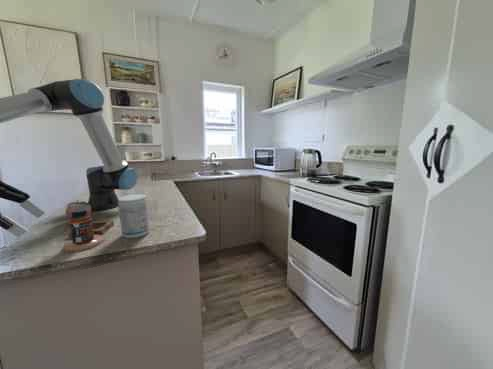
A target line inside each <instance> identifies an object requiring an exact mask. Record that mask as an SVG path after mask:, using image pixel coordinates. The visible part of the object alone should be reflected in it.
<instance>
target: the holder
mask: <svg viewBox="0 0 493 369" xmlns="http://www.w3.org/2000/svg"><path fill="white" fill-rule="evenodd" d="M114 223H115V222H114V220H104V221H92V227H93V232H94V233H93V234H94V235H102V236H103V235H104V234H105V233H107V232H108V231H109V230H110V229H112V227H113V226H115V224H114ZM94 228H98V229H94ZM67 234H68V239H72V235H71V231H69V232H67Z"/></svg>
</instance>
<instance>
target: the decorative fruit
mask: <svg viewBox="0 0 493 369" xmlns="http://www.w3.org/2000/svg"><path fill="white" fill-rule="evenodd" d="M77 209H86V210H87V214H88V215H90V216H91V212H92V210H91V206H90V205H89V204H88V202H87V201H79V200H78V199H76V201H73V202H70V203H68V204H66V209H65V215H66V216H67V217H68V218H69V219H70V218H71V217H72V211H73V210H77Z"/></svg>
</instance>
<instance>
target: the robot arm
mask: <svg viewBox="0 0 493 369" xmlns="http://www.w3.org/2000/svg"><path fill="white" fill-rule="evenodd" d="M104 104H105V96H104V94H103V91H102V90H101V88H100V87H99V86H98V85H97V84H96V83H95V82H93V81H91V80H90V79H86V78H74V79H67V80H65V79H64V80H57V81H53V82H49V83H47V84H44V85H40V86H37V87H32V88H29V89H28V90H27V92H22V93H19V94H14V95H9V96H3V97H0V124H3V123H6V122H10V121H13V120H16V119H19V118H20V119H21V118H23V117H27V116H31V115H34V114H37V113H40V112H42V113H46V114H47V113H50V112H54V111H66V110H67V111H69V110H71V112H72V115H73V116H74V117H76V118H79V120H80V121H81V123H82V125H83V127H84V129H85V131H86V133H87V134H88V135H87V136H88V137H89V138H90V141H91V142H92V144H93V147H94V149H95V150H96V152H97V155H98V156H99V158H100V160H101V162H102V164H103V165H97V166H91V167H90V166H89V167H87V169H86V170H85V171H86V175H85V176H86V180H87V186H88V191H89V192H88V193H89V197H88V200H87V201H88V202H87V203H88V204H89V205H90V206H91V211H105V210H110V209H114V208H116V207H119V206H118V199H119V197H118V196H117V194H116V191H115V190H121V191H127V190H131V189H133V188H134V187H135V186H136V185H137V182H138V172H137V170H136V169H134V168H132V167H130V166H129V164H128V162H127V161H125V160H123V158H122V155H121V154H120V152H119V150H118V147H117V145H116V143H115V140H114V139H113V137H112V134H111V132H110V130H109V128H108V126H107V123H106V121H105V119H104V116H103V112H104V107H103V106H104ZM0 199H4V200H7V201H9V202H14V203H17V204H19V206H20V207H21V208H23V209H24V210H25V211H27V212H28V213H29V214H31V215H33V217H35V218H37V219H39V218H41V217H42V216H44V215H45V214H46V213H47V211H45V210H44V209H42V208H41V207H40V206H38V205H37V204H35V203H34V202H33V201H31V200H30V199H31V195H29V194H28V193H27V192H25V191H23V190H20V189H18V188H16V187H14V186H12V185H10V184H9V183H8V184H7V183H5V182H3V181H2V180H0ZM0 227H1V228H2V229H4V230H5V231H7V232H9V233H10V234H12V235H13V236H15V237H17V238H20V237H21V236H23V235H24V234H26V233H28V232H29V229H28V228H27V227H25V226H24V225H21V223H19V222H18V221H16V220H14V219H12V218H11V217H9V215H4V216H3V214H2V212H1V211H0Z"/></svg>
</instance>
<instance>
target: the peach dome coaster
mask: <svg viewBox="0 0 493 369" xmlns="http://www.w3.org/2000/svg"><path fill="white" fill-rule="evenodd" d="M104 241H105V240H104V236H103V235H94V239H93V240H92V241H90V242H88V243H85V244H79V245H78V244H73V241H72V239H71V240H68V241H67V242H65V243H64V245H63V249H64V251H65V252H69V253H70V252H71V253H73V252H83V251H86V250H88V249H89V250H90V249H92V248H95V247H97V246H100V245H101V244H102V243H103V242H104Z"/></svg>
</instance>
